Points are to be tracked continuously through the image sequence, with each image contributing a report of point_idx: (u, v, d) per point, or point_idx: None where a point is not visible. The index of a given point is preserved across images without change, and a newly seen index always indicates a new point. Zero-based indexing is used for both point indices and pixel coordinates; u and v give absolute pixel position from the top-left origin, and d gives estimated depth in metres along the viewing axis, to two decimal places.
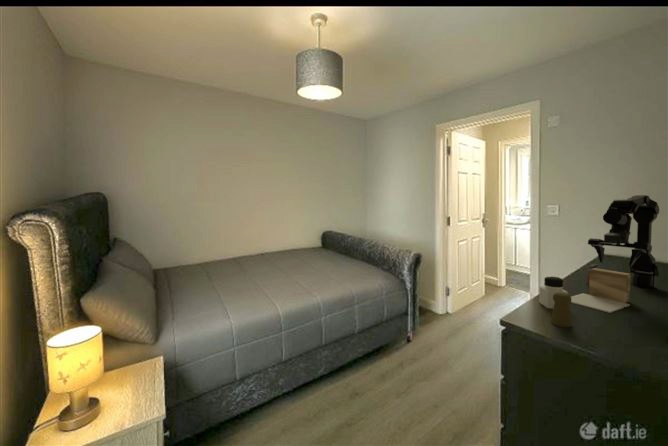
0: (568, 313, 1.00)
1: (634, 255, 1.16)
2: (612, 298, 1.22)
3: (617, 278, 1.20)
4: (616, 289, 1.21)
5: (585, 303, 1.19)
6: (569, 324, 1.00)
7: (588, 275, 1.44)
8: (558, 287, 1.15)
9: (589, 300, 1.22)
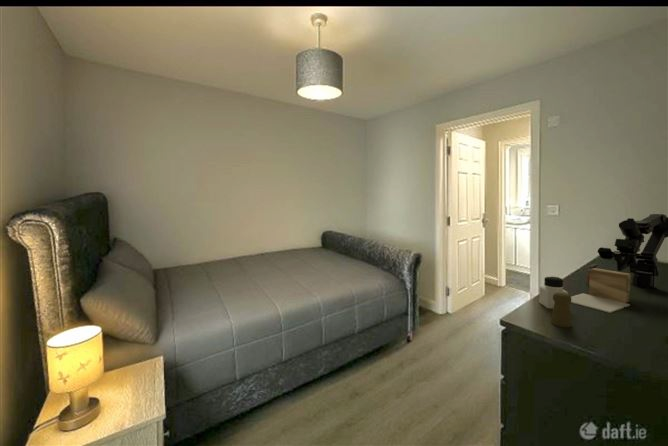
0: (568, 313, 1.00)
1: (625, 261, 1.27)
2: (612, 298, 1.22)
3: (617, 278, 1.20)
4: (616, 289, 1.21)
5: (585, 303, 1.19)
6: (569, 324, 1.00)
7: (588, 275, 1.44)
8: (558, 287, 1.15)
9: (589, 300, 1.22)
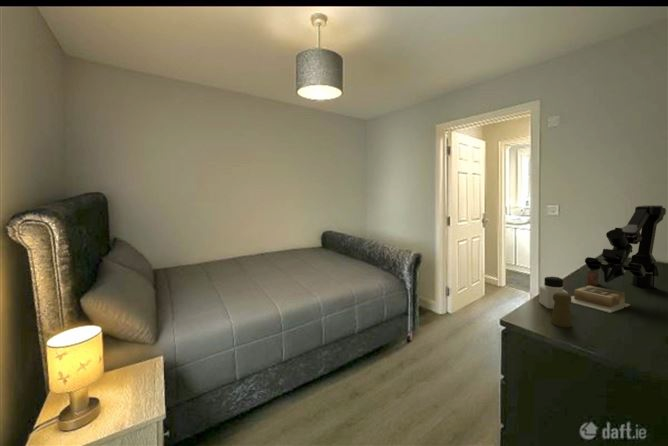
0: (568, 313, 1.00)
1: (613, 272, 1.23)
2: None
3: None
4: None
5: (585, 303, 1.19)
6: (569, 324, 1.00)
7: (588, 275, 1.44)
8: (558, 287, 1.15)
9: None
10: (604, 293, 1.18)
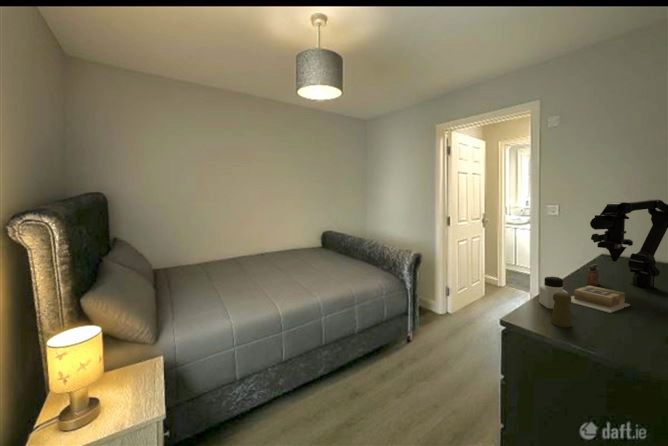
0: (568, 313, 1.00)
1: None
2: None
3: None
4: None
5: (585, 303, 1.19)
6: (569, 324, 1.00)
7: (588, 275, 1.44)
8: (558, 287, 1.15)
9: None
10: (604, 293, 1.18)
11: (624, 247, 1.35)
